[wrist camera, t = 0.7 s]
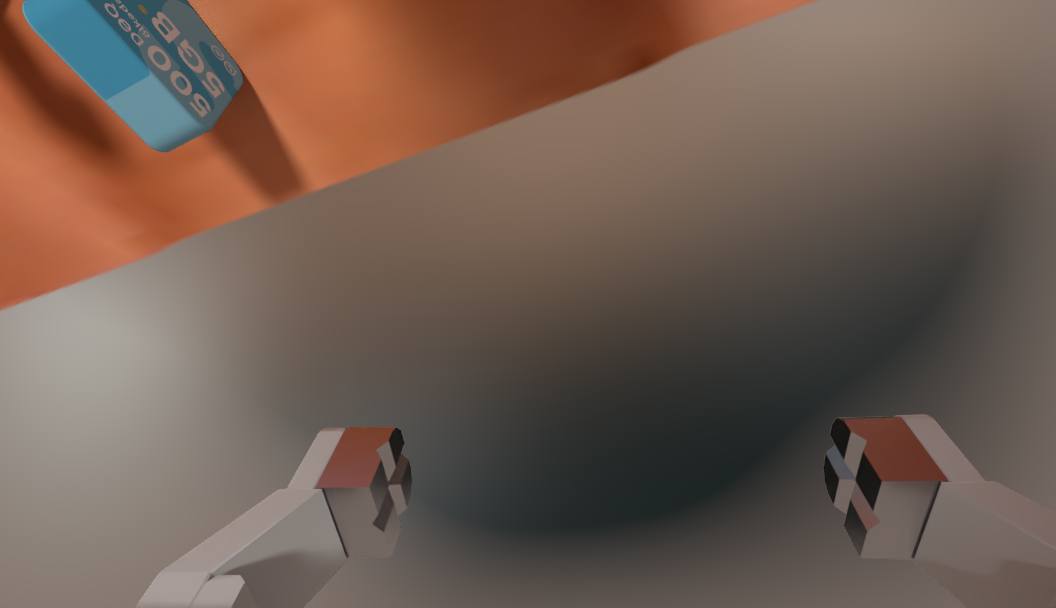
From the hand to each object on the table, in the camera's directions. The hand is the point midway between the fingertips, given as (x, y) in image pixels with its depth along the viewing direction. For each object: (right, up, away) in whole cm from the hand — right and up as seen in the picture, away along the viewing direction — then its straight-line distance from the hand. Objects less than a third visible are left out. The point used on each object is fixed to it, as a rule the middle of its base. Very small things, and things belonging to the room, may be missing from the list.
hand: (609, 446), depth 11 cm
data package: (-31, +27, +38) cm, 56 cm away
